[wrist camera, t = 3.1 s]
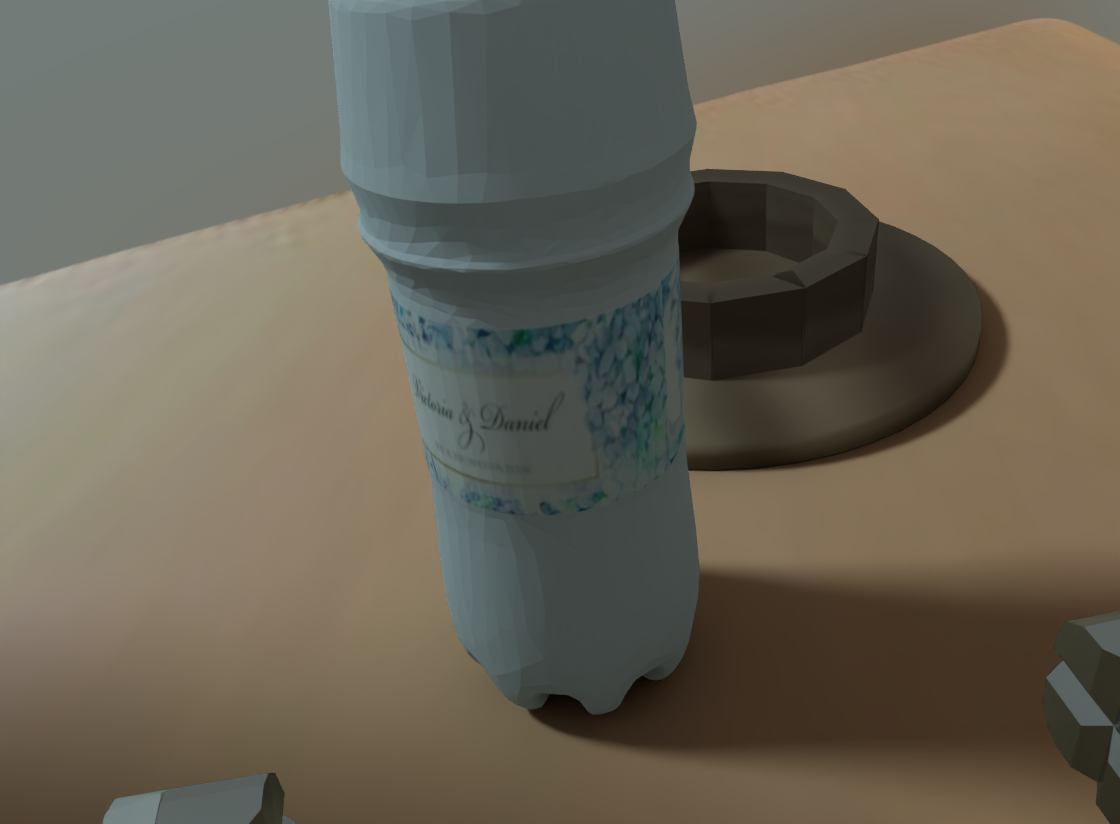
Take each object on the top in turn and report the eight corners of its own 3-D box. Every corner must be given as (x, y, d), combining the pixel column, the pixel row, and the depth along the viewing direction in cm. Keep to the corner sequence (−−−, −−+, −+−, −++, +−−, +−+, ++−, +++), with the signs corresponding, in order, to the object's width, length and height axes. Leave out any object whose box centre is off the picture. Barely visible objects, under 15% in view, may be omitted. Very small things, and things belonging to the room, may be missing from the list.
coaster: (485, 516, 31) (466, 408, 29) (449, 258, 48) (435, 177, 46) (1094, 411, 33) (1119, 301, 31) (853, 195, 50) (858, 114, 47)
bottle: (401, 685, 26) (154, -234, 15) (545, 532, 30) (435, -260, 20) (628, 794, 23) (521, -287, 12) (752, 604, 27) (758, -304, 16)
